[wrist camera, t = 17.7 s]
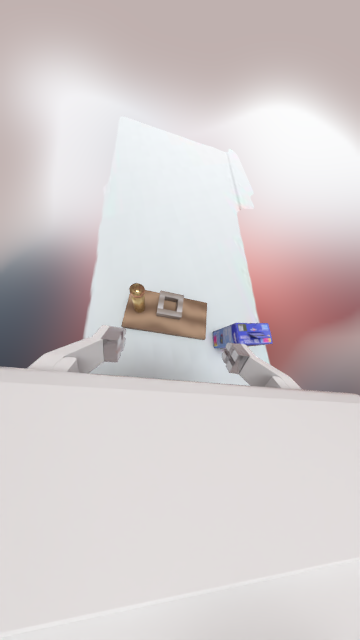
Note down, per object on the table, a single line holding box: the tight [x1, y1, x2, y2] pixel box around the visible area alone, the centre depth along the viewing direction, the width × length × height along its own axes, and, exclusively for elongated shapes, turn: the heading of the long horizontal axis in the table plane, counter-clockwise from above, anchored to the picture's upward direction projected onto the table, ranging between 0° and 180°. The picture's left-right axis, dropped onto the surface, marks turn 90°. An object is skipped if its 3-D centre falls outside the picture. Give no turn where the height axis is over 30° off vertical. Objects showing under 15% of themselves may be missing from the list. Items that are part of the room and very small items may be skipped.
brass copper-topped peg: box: [130, 283, 145, 313], centre depth 33 cm, size 3×3×10 cm
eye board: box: [122, 290, 207, 340], centre depth 39 cm, size 12×24×4 cm, turn 84°
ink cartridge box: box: [213, 323, 272, 348], centre depth 36 cm, size 10×6×14 cm, turn 93°
